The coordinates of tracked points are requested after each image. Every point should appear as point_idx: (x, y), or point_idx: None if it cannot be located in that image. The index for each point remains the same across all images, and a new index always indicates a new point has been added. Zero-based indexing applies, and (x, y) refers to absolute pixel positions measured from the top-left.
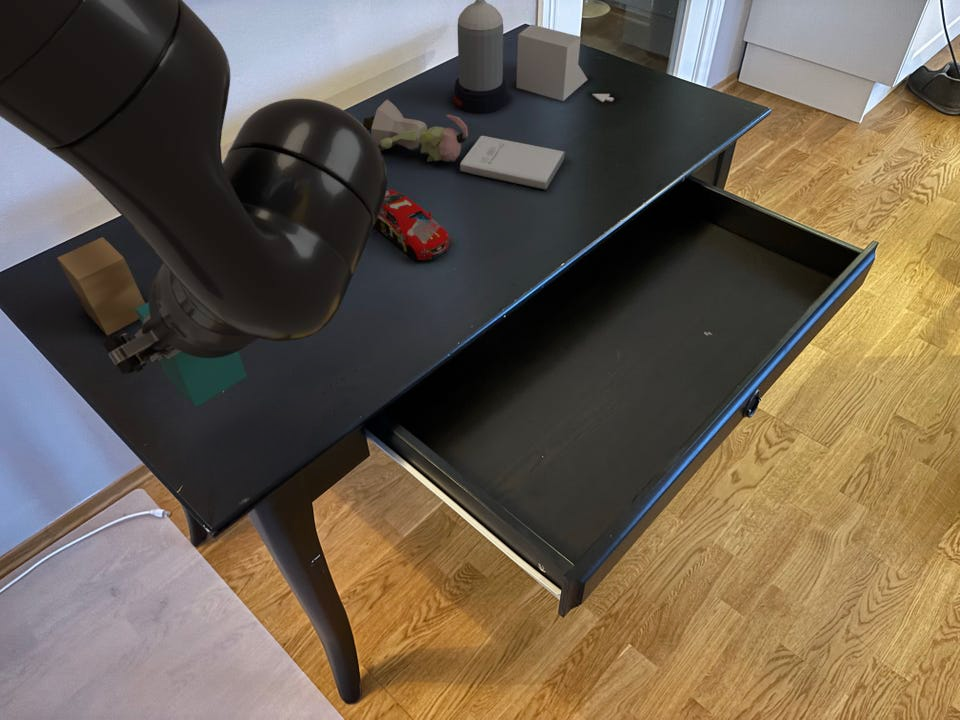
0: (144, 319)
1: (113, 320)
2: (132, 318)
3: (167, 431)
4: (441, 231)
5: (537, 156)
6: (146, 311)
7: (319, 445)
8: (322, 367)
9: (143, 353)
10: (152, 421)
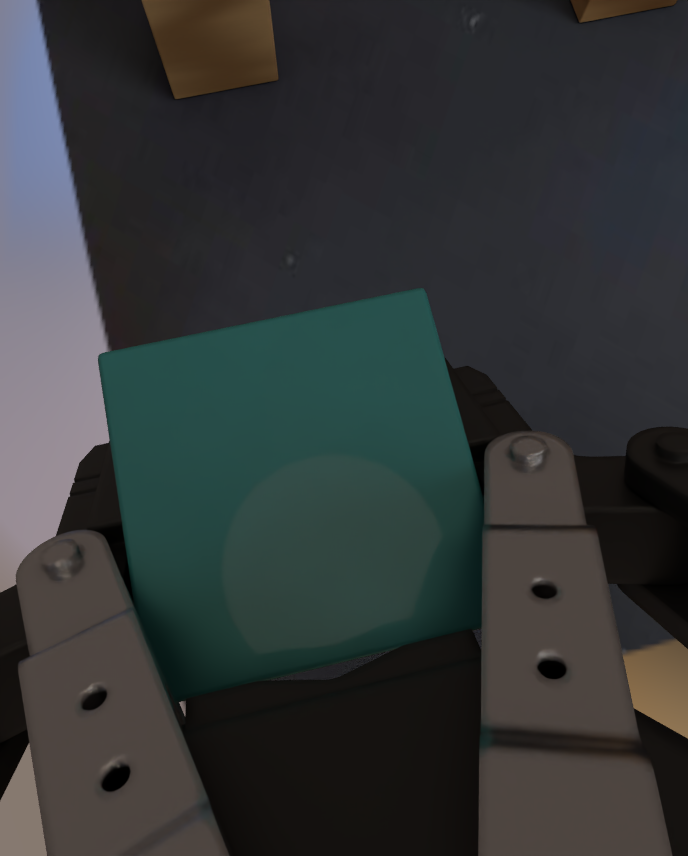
0: (23, 676)
1: (195, 71)
2: (238, 79)
3: None
4: None
5: None
6: (139, 410)
7: None
8: (589, 446)
9: (21, 713)
10: None
